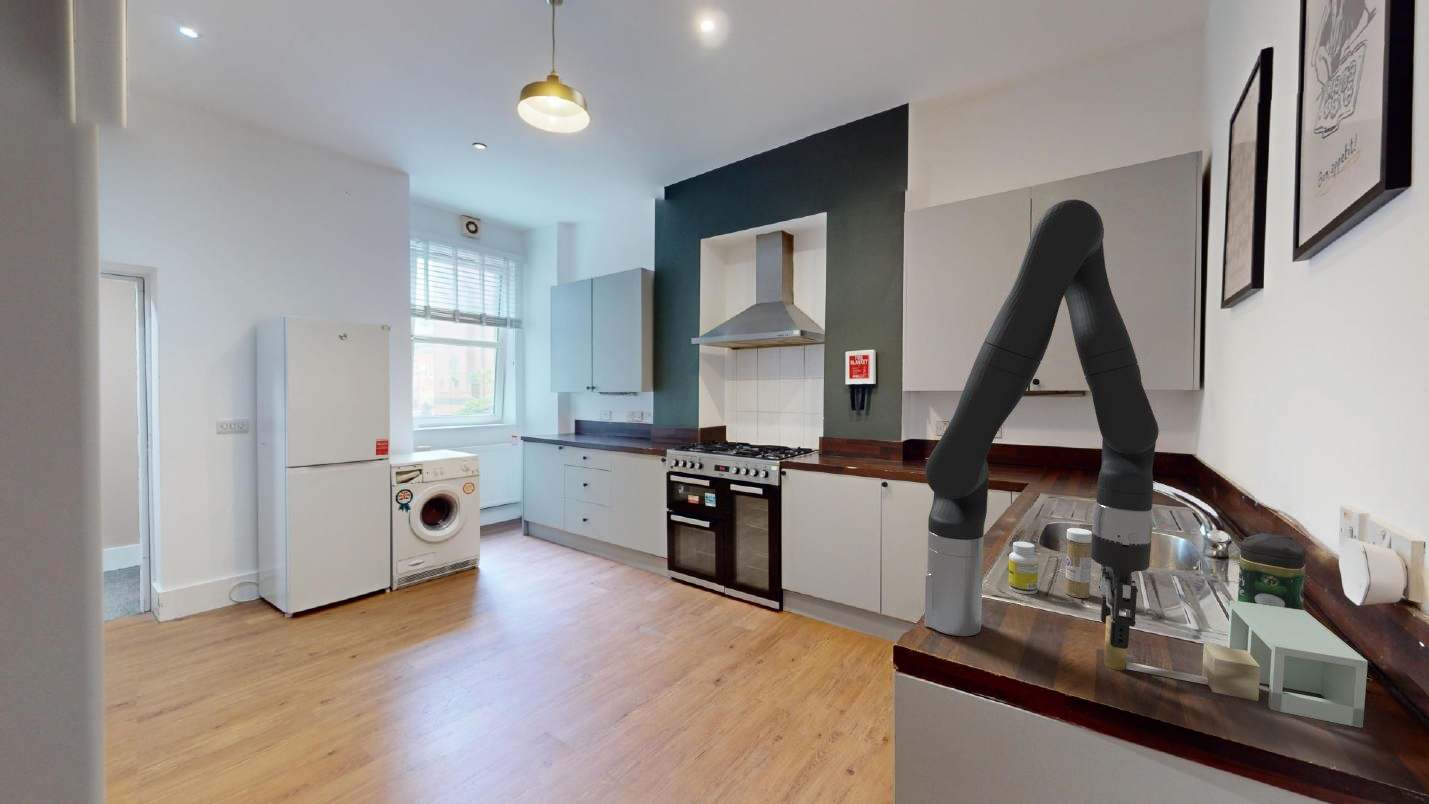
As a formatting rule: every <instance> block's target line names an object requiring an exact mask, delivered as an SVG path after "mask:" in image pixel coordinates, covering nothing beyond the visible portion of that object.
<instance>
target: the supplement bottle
mask: <svg viewBox="0 0 1429 804" xmlns="http://www.w3.org/2000/svg"><path fill="white" fill-rule="evenodd" d="M1035 547H1036V546H1035V545H1034V543H1031V542H1028V541H1027V542H1026V541H1014V542H1013V543H1012V552H1011V553H1010V554H1009V556H1008V588H1009V589H1010V590H1011V591H1013V592H1015V593H1018V594H1022V595H1034V594H1036V593H1037V592H1038V583H1039V582H1038V581H1039V580H1038V579H1039V577H1038V575H1039V559H1038V558H1039V557H1037V555H1036V554H1034V553H1035V552H1036V549H1035Z"/></svg>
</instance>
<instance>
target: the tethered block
mask: <svg viewBox="0 0 1429 804" xmlns="http://www.w3.org/2000/svg"><path fill="white" fill-rule="evenodd" d="M1110 616H1111V615H1110ZM1110 616H1107V617H1106V624H1105V639H1104V658H1103V659H1104V661H1103V664H1104V665H1105V667H1108V668H1109V669H1113V670H1116V671H1126V670H1130V671H1136V672H1139V673H1140V672H1141V673H1146V674H1150V675H1155V676H1161V677H1167V678H1170V679H1171V678H1172V679H1175V680H1182V681H1187V682H1192V683H1196V684H1200V685H1201V684H1202V685H1208V687H1209V688H1210V690H1211V692H1212V693H1215V694H1221V695H1224V696H1225V695H1226V696H1231V697H1236V698H1240V699H1246V700H1251V701H1256V702H1259V696H1260V684H1261V683H1260V666H1259V664H1258V663H1257V662H1256V661H1255V660H1254V659H1253V657H1252V656H1251V655H1250V654H1249V653H1248V652H1247V651H1245V650H1239V649H1233V648H1227V647H1226V646H1222V645H1221V646H1219V645H1214V644H1208V643H1203V652H1202V654H1203V655H1202V671H1201V672H1202V673H1201V675H1198V674H1192V673H1188V672H1183V671H1178V670H1172V669H1168V668H1167V669H1166V668H1162V667H1161V668H1160V667H1157V666H1150V665H1146V664H1140V663H1135V662H1131V661H1130V662H1129V661H1127V652H1128V648H1127V649H1122V648H1117V647H1113V646H1111V644H1110V629H1111V620H1110Z"/></svg>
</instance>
